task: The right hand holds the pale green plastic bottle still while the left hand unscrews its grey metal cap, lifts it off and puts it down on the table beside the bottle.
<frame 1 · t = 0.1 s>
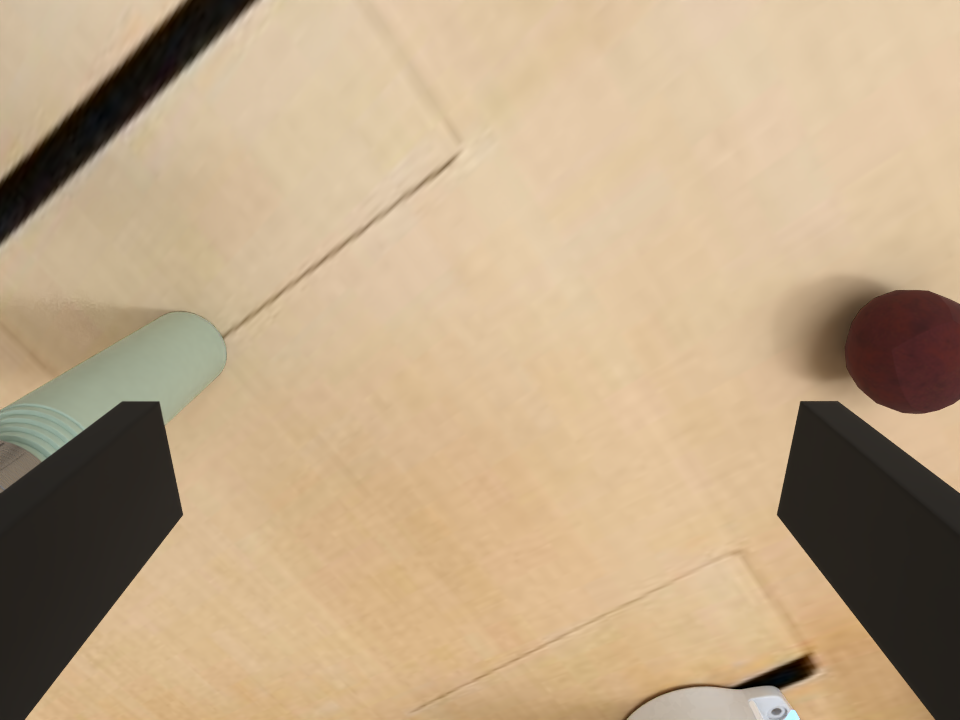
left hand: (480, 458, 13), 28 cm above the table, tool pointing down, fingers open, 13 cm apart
dark red sphere: (875, 331, 41), on the table
bottle: (187, 349, 41), on the table
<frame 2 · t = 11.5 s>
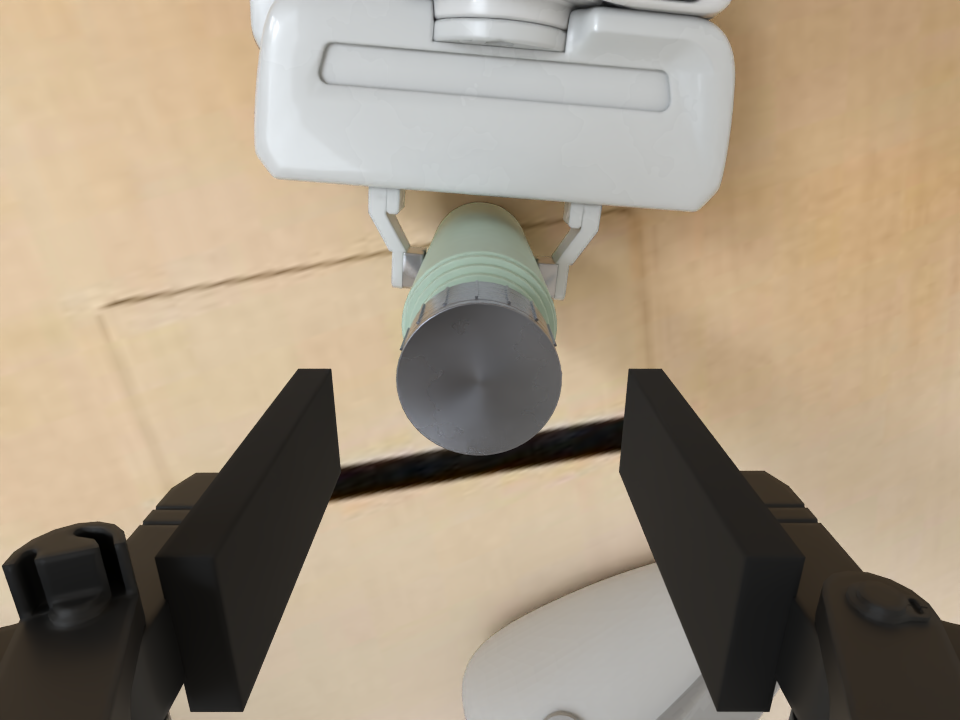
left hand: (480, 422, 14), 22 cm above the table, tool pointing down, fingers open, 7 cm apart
right hand: (479, 291, 29), fingers closed on bottle, 5 cm apart
projector: (630, 631, 45), on the table
cap: (479, 378, 17), point 19 cm above the table, screwed on, not yet turned
bottle: (479, 250, 35), on the table, touching right hand
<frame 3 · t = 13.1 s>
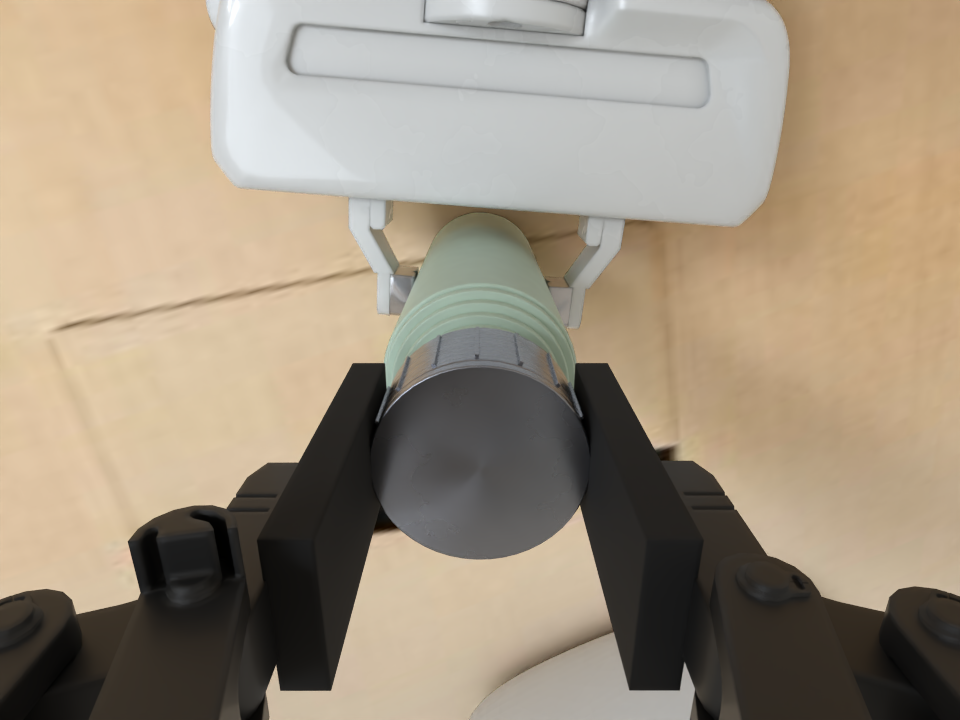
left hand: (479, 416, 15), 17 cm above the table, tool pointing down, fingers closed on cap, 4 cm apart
right hand: (479, 318, 25), fingers closed on bottle, 5 cm apart
projector: (646, 683, 41), on the table
cap: (480, 461, 13), point 19 cm above the table, screwed on, not yet turned, touching left hand
bottle: (480, 266, 31), on the table, touching right hand
when the left hand's fingers open (1 cm above the table, at t = 28.9 s): cap drops 1 cm, point 2 cm above the table.
when the right hand's fingers open (6 cm above the table, at t = 30.2 s): bottle stays where it is, on the table.
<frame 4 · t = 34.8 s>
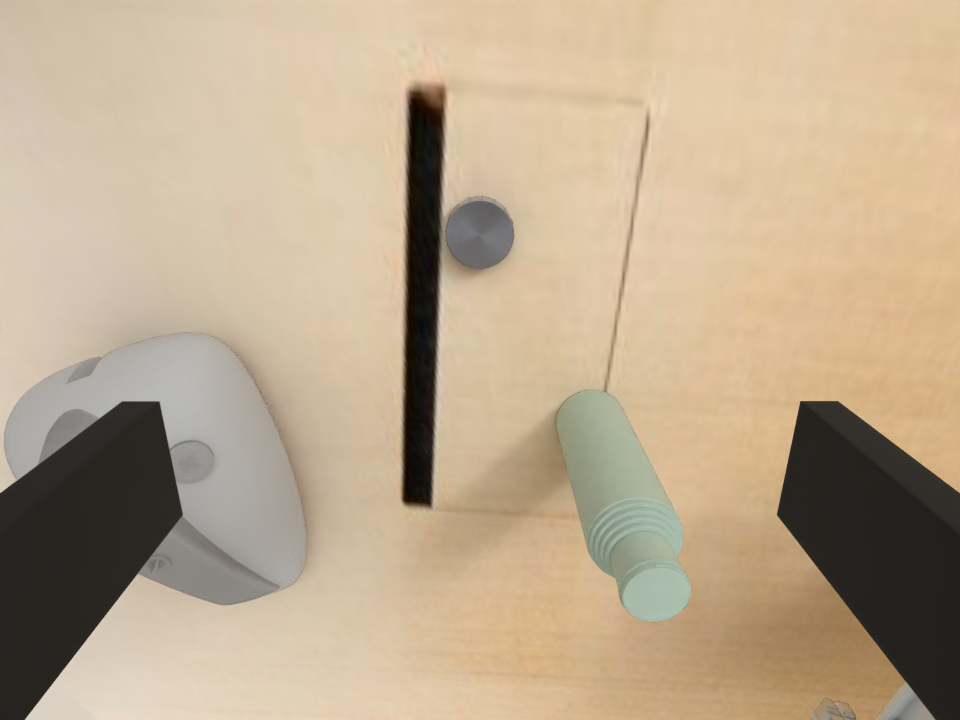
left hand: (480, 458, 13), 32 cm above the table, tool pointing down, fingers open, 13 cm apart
projector: (214, 461, 49), on the table
cap: (479, 234, 40), point 2 cm above the table, off its thread
bottle: (590, 421, 48), on the table
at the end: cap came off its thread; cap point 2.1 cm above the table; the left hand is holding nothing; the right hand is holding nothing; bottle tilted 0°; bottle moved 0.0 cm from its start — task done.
